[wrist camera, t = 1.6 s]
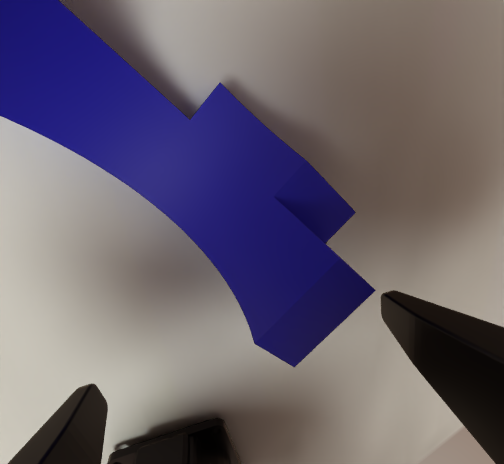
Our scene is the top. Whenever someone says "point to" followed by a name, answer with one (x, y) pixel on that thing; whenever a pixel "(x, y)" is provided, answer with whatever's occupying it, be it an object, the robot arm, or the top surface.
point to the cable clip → (190, 172)
